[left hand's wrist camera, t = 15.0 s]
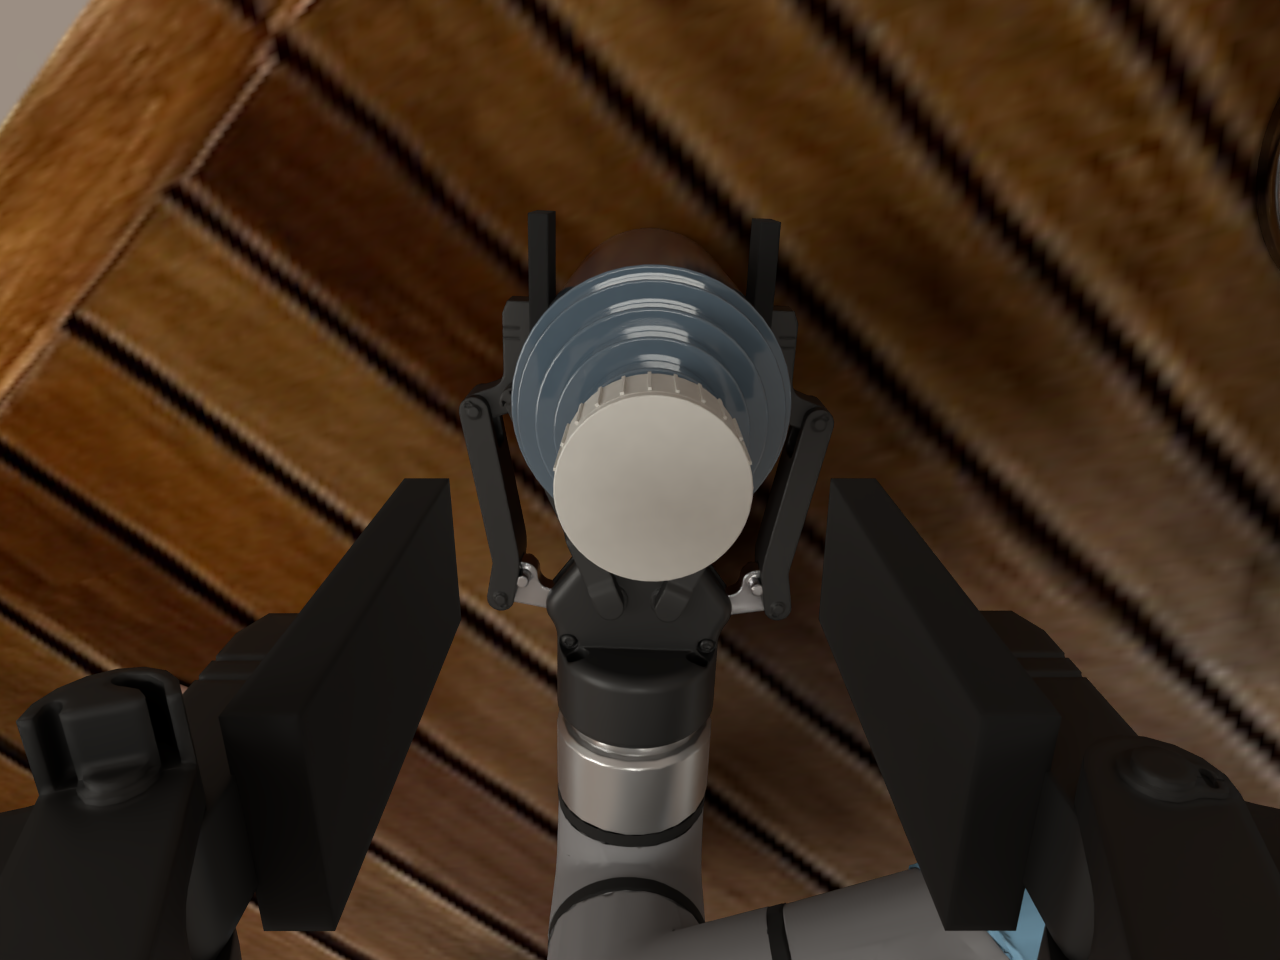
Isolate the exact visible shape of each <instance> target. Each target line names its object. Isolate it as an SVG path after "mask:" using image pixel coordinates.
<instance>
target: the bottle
mask: <svg viewBox="0 0 1280 960" xmlns="http://www.w3.org/2000/svg"><path fill="white" fill-rule="evenodd" d="M648 372H651V374H665V375H672V376H673V375H674V374H677V375H678V377H679V378H683V379H686V380H688V381H690V382H693V383H695V384H697V385H698V383H700V384H701V385H702V388H704V389H705V390H707V391H708V392H709V393H711V394H712V395H713V396H714V397H716V399H717V400H718V399H719V398H720V399H721V400H722V403H723V406H724V407H725V409H726V410H727V411H728V413H729V414H730V415H731V417H732V419H734V418H735V419H736V421H737V424H738V426H739V429H740V432H741V434H742V437H743V440H742V441H744V443H745V445H746V448H747V451H748V453H749V456H750V459H751V461H752V465H750V467H751V472H752V478H753V494H754V492H755V491H756V490H757V489H758V488H759V486H760V485H761V484H762V483H763V482H764V480H765V479H766V477H767V476H768V474H769V473H770V472H771V470H772V469H773V467H774V465H775V463H776V461H777V459H778V457H779V455H780V453H781V450H782V448H783V445H784V442H785V439H786V436H787V432H788V427H789V423H790V416H791V404H792V399H791V383H790V378H789V372H788V367H787V364H786V361H785V358H784V355H783V352H782V349H781V347H780V345H779V343H778V341H777V339H776V337H775V335H774V333H773V331H772V330H771V328H770V327H769V326H768V324H767V323H766V321H765V320H764V318H763V317H762V316H761V315H760V313H759V312H758V311H757V310H756V309H755V307H754V306H753V305H752V304H751V303H750V302H749V300H748V299H747V298H746V297H745V296H744V294H743V293H742V292H741V291H740V290H739V289H738V287H737V286H736V285H735V284H734V283H733V281H732V280H731V279H730V278H729V277H728V276H727V274H726V273H725V272H724V271H723V270H722V268H721V267H720V266H719V265H718V264H717V263H716V261H715V260H714V259H713V258H712V257H711V256H710V255H709V254H708V252H707V251H706V250H704V249H703V248H702V247H701V246H700V245H698V244H697V243H695V242H694V241H692V240H691V239H689V238H687V237H685V236H683V235H681V234H678V233H675V232H672V231H669V230H663V229H657V228H643V229H634V230H630V231H626V232H623V233H620V234H618V235H615V236H613V237H611V238H609V239H608V240H606V241H604V242H603V243H601V244H600V245H599V246H597V247H596V248H595V249H594V250H593V251H592V252H591V253H590V254H589V255H588V256H587V257H586V258H585V259H584V261H583V262H582V263H581V265H580V266H579V267H578V269H577V270H576V271H575V272H574V274H573V275H572V276H571V278H570V279H569V280H568V282H567V283H566V284H565V286H564V287H563V288H562V290H561V291H560V292H559V294H558V295H557V296H556V298H555V299H554V300H553V301H552V303H551V304H550V305H549V307H548V308H547V309H546V311H545V312H544V313H543V315H542V316H541V317H540V319H539V320H538V321H537V323H536V324H535V325H534V327H533V328H532V330H531V332H530V333H529V335H528V337H527V339H526V341H525V342H524V344H523V347H522V349H521V352H520V355H519V357H518V360H517V363H516V367H515V371H514V376H513V381H512V391H511V411H512V420H513V425H514V431H515V435H516V438H517V441H518V444H519V447H520V450H521V452H522V454H523V456H524V459H525V461H526V463H527V465H528V466H529V468H530V470H531V471H532V473H533V474H534V476H535V477H536V479H537V480H538V481H539V483H540V484H541V485H542V486H543V487H544V489H545V490H546V491H547V492H548V493H549V494H550V496H551V497H552V498H553V499H554V496H553V483H554V474H555V471H553V468H554V464H555V461H556V458H557V455H558V452H559V449H560V447H562V446H560V444H561V441H562V438H563V435H564V432H565V428H566V426H567V424H570V423H571V421H572V420H573V418H574V416H575V415H576V413H577V411H578V408H579V405H580V404H581V403H583V404H584V403H585V402H586V401H587V400H588V399H589V398H590V397H591V396H592V395H593V394H595V393H596V392H597V391H598V388H599V387H601V386H602V388H603V387H605V386H607V385H609V384H611V383H612V382H615V381H617V380H620V379H622V376H626V377H630V376H634V375H640V374H648Z"/></svg>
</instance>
